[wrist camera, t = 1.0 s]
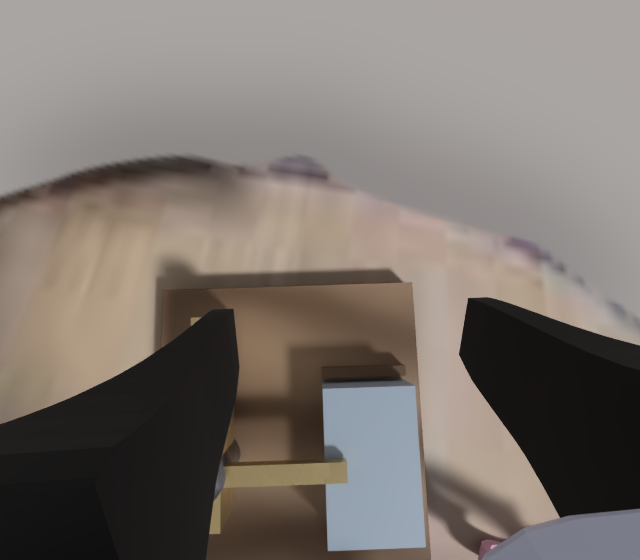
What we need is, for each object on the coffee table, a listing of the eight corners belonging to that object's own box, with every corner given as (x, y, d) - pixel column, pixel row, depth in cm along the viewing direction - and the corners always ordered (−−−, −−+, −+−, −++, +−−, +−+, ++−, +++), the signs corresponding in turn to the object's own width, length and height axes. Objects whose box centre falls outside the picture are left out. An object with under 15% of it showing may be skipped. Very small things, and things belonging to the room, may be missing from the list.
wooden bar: (344, 494, 22) (350, 534, 17) (206, 499, 22) (179, 540, 17) (337, 315, 23) (341, 312, 19) (208, 320, 23) (183, 317, 19)
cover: (411, 517, 22) (425, 547, 19) (326, 521, 22) (328, 551, 19) (402, 378, 23) (415, 385, 20) (321, 381, 23) (322, 388, 20)
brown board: (425, 575, 23) (438, 605, 20) (164, 585, 22) (145, 616, 20) (406, 285, 25) (416, 280, 23) (171, 292, 25) (155, 288, 23)
